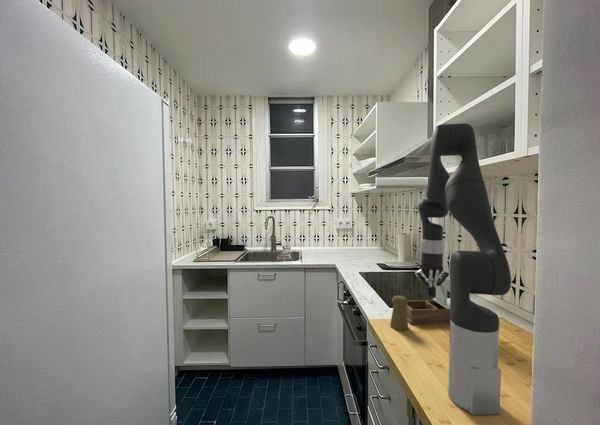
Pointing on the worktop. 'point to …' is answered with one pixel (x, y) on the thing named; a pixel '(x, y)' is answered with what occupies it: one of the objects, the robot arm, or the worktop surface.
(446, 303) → the lid
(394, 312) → the olive rounded piece
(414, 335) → the worktop surface
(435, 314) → the caddy
